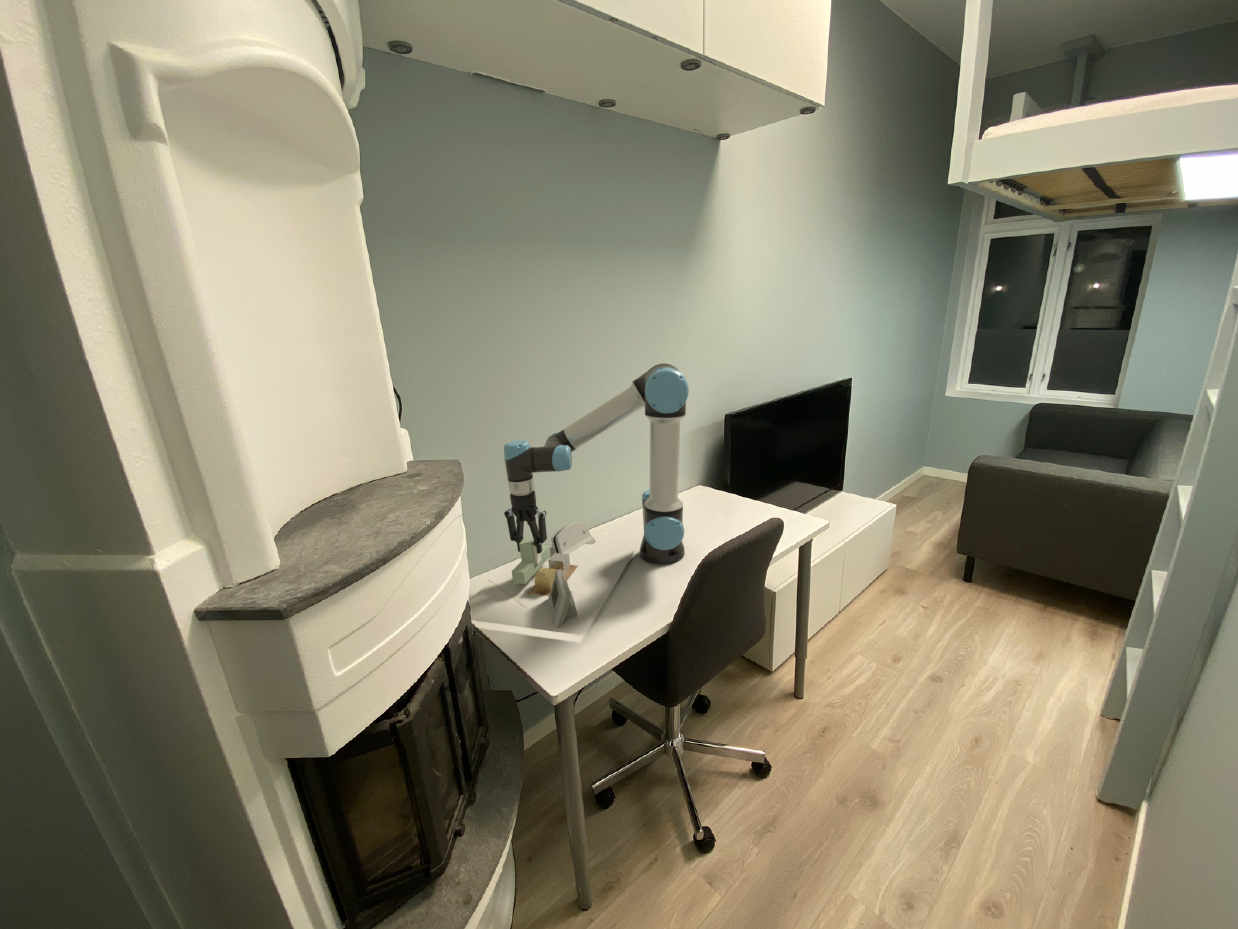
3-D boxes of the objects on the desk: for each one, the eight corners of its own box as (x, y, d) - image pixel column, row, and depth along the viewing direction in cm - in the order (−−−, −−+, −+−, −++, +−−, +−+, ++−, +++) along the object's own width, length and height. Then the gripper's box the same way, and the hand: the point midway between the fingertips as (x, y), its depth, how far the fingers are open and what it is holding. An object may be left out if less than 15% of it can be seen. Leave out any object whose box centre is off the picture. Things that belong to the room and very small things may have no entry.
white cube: (570, 568, 168) (568, 554, 167) (564, 575, 164) (562, 561, 162) (556, 566, 170) (554, 552, 168) (549, 574, 165) (548, 560, 164)
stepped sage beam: (550, 556, 171) (547, 528, 168) (525, 584, 155) (520, 554, 152) (539, 555, 173) (535, 527, 170) (513, 583, 156) (508, 553, 153)
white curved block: (565, 560, 177) (555, 533, 176) (556, 562, 180) (546, 535, 179) (596, 541, 189) (586, 516, 189) (587, 543, 192) (578, 518, 192)
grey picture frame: (549, 600, 153) (545, 568, 150) (579, 598, 153) (576, 566, 150) (542, 634, 138) (538, 599, 135) (576, 631, 138) (573, 596, 135)
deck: (578, 569, 170) (578, 565, 170) (555, 601, 153) (554, 596, 152) (553, 567, 173) (553, 563, 172) (527, 597, 156) (527, 593, 155)
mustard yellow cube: (557, 583, 159) (556, 569, 158) (551, 592, 155) (549, 577, 153) (543, 582, 161) (541, 567, 159) (536, 590, 156) (534, 575, 155)
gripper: (490, 495, 155) (501, 564, 162) (542, 497, 150) (551, 569, 157) (503, 486, 162) (513, 553, 169) (553, 488, 157) (561, 558, 164)
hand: (531, 561), depth 163 cm, fingers closed on stepped sage beam, 4 cm apart
